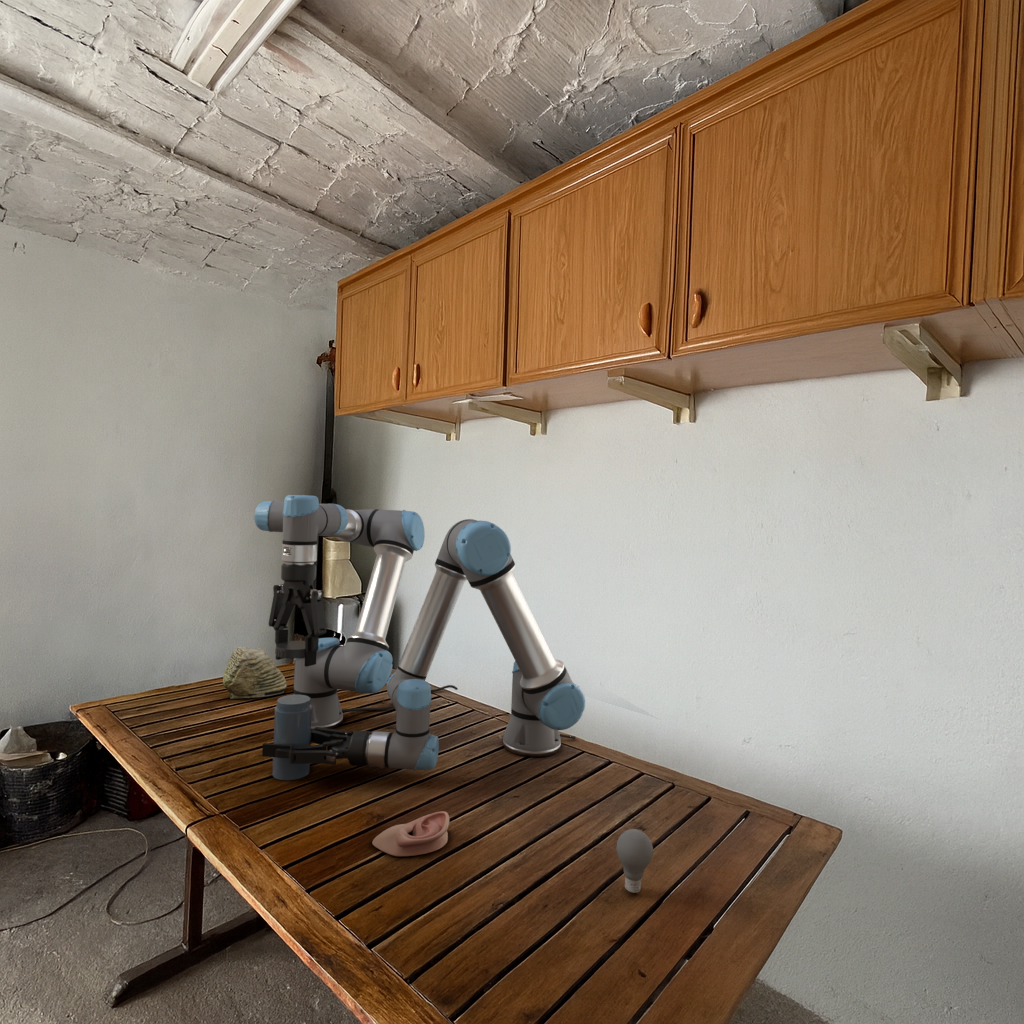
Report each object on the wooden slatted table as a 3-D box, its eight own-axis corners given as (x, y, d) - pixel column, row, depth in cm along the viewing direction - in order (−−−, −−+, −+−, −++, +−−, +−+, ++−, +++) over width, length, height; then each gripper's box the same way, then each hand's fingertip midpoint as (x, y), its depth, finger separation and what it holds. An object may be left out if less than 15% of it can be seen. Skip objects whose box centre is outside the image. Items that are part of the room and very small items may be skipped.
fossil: (218, 695, 195) (220, 647, 195) (278, 685, 208) (279, 640, 207) (228, 703, 189) (230, 653, 188) (289, 692, 201) (290, 645, 201)
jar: (284, 783, 139) (287, 707, 139) (265, 772, 144) (267, 699, 144) (316, 772, 145) (319, 699, 145) (296, 762, 150) (299, 691, 150)
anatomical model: (365, 829, 114) (390, 800, 125) (364, 851, 114) (389, 820, 125) (436, 840, 111) (455, 810, 122) (435, 863, 111) (454, 830, 122)
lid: (290, 647, 150) (290, 639, 150) (323, 651, 147) (323, 642, 147) (267, 656, 141) (267, 647, 141) (301, 660, 139) (302, 651, 139)
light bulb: (610, 879, 108) (613, 822, 108) (644, 879, 109) (647, 822, 109) (619, 902, 102) (622, 840, 102) (655, 901, 103) (658, 840, 103)
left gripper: (253, 559, 146) (250, 657, 146) (320, 568, 135) (317, 673, 136) (279, 557, 152) (276, 651, 153) (346, 565, 142) (342, 666, 142)
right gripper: (354, 785, 133) (249, 778, 134) (381, 747, 154) (289, 741, 155) (356, 750, 133) (250, 743, 134) (382, 716, 154) (291, 710, 155)
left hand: (295, 661), depth 144 cm, fingers closed on lid, 9 cm apart
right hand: (271, 742), depth 145 cm, fingers closed on jar, 8 cm apart
